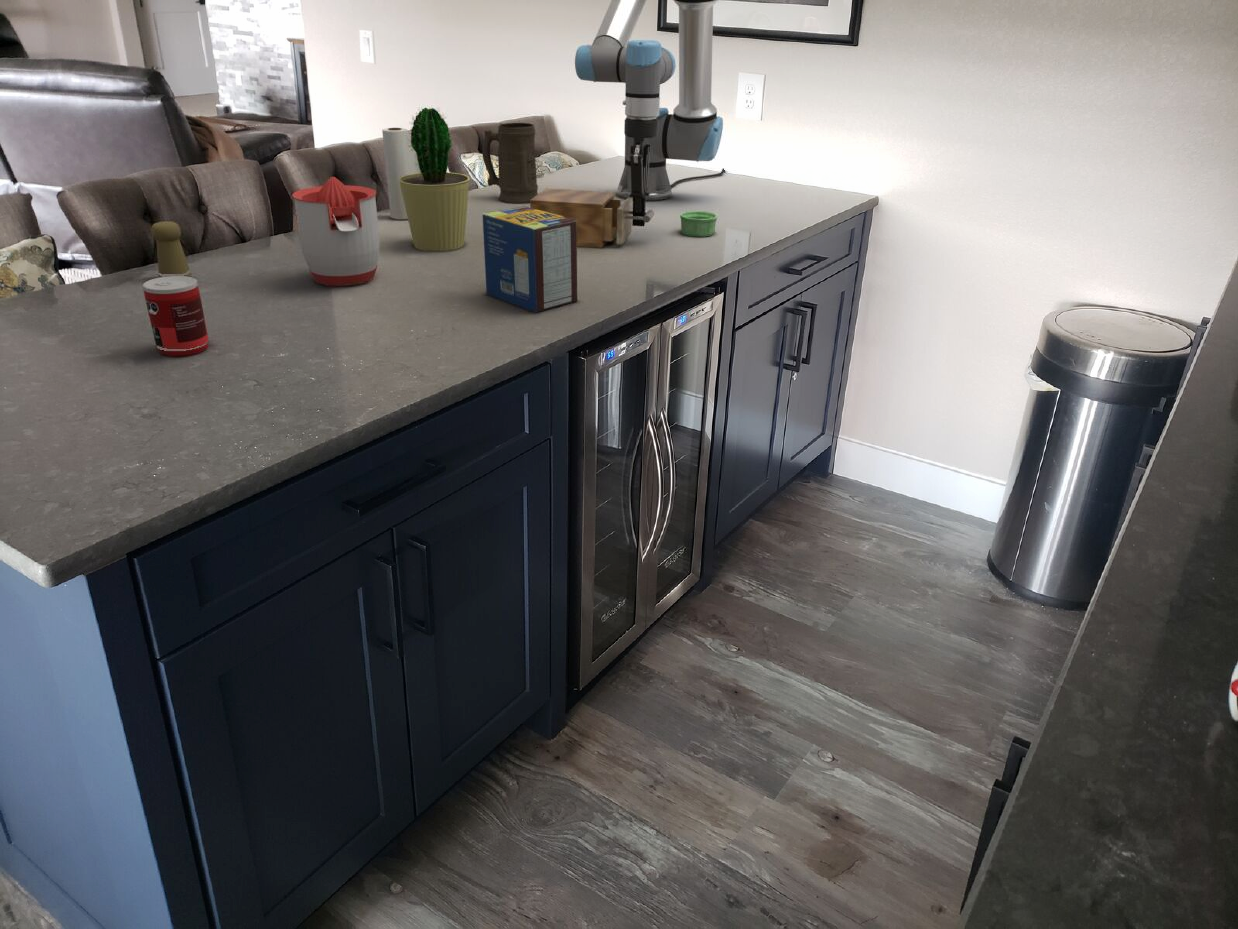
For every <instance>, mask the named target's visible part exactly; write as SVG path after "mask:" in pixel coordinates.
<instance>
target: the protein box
mask: <svg viewBox="0 0 1238 929" xmlns="http://www.w3.org/2000/svg"><path fill="white" fill-rule="evenodd" d="M482 232H483V251H484V252H483V254H484V269H485V270H484V272H485V273H484V274H485V293H486V294H487V295H489V296H491V297H493V298H497V299H498V300H502V301H504V302H506V303H510V304H513V305H515V306H518V307H520V308H523V309H526V310H528V311H531V312H533V313H539V312H542V311H546V310H551V309H553V308H557V307H560V306H565V305H568V304H572V303H575V302H578V246H577V220H576V219H572V218H568V217H564V216H560V215H556V214H552V213H548V212H545V211H541V210H537V209H533V208H530V206H525V205H524V206H523V205H522V206H518V207H517V206H516V207H512V208H508V209H502V210H501V209H500V210H497V211H491V212H484V213H482Z"/></svg>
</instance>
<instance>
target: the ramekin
mask: <svg viewBox="0 0 1238 929" xmlns="http://www.w3.org/2000/svg"><path fill="white" fill-rule="evenodd" d="M679 217H680V231H681V234H683V235H686V236H689V237H698V238H699V237H700V238H703V237H710V236H713V235H714V234H715V231H716V223H717V220H718V214H717V213H714V212H711V211H704V210H691V211H690V210H689V211H683V212H681V213H680V214H679Z"/></svg>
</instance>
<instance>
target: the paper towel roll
mask: <svg viewBox="0 0 1238 929" xmlns="http://www.w3.org/2000/svg"><path fill="white" fill-rule="evenodd" d="M381 132H382V141H383V142H382V143H383V152H384V164H385V174H386V184H387V193H388V194H387V195H388V205H389V216H390V219H393V220H408V217H407V213H406V208H405V204H404V200H403V195H402V191H401V187H400V181H399V178H400V177H402V176H405V175H409V174H415V173H421V170H420V168H419V166H418V165H419V164H418V160H417V157H416V152H415V150H413V149H412V148H413V147H412V146H411V145H412V144H411V141H410V140H411V130H410V129H408V128H406V127H405V128H404V127H386V128H383V129H381ZM408 132H409V133H410V134H409V133H408ZM407 138H408V139H407ZM408 140H409V141H408ZM409 142H410V143H409ZM408 146H411V147H408ZM411 149H412V150H411ZM415 159H416V160H415ZM415 161H416V162H415ZM416 163H417V164H418V165H417V164H416ZM414 165H415V166H414ZM416 167H417V168H416Z"/></svg>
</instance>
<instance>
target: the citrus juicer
mask: <svg viewBox="0 0 1238 929" xmlns="http://www.w3.org/2000/svg"><path fill="white" fill-rule="evenodd" d="M376 195H377V191H376V190H375V189H373V188H370V187H367V186H360V185H348V184H347V185H346V184H344V183H343V182H342V181H341V180H339V179H338V178H336V177H335V176H330V177H329V178H328V179H327V180H326V181H325V182H324V184H323V185H322V186H321V185H320V186H313V187H307V188H302V189H298V190H297V191H294V192H293V193H292V195H291V197H292V198H293V201H294V209H295V214H296V223H297V229H298V235H299V242H300V246H301V251H302V254H303V257H304V260H305V263H306V265H307V267H308V270H309V272H310V275H311V276H312V278H313V279H314V281H315V282H317V283H319V284H322V285H326V286H328V287H338V286H351V285H358V284H365V283H369V282H370V281H371V280H372V279H374V278H375V275H376V273H377V269H378V262H379V261H378V260H379V256H380V255H379V254H380V229H379V222H378V210H377V209H378V208H377V201H376Z"/></svg>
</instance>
